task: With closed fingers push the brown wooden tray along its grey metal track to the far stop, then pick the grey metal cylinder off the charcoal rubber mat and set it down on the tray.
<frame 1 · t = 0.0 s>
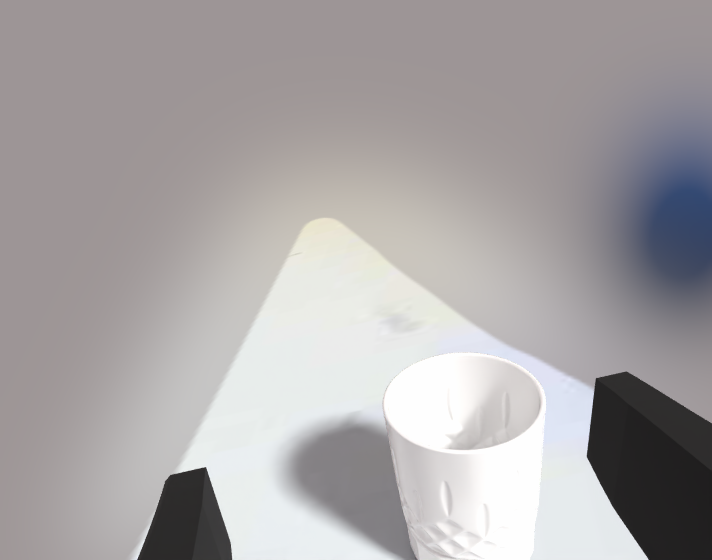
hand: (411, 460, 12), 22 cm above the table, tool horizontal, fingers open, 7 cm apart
white cup: (471, 542, 37), on the table
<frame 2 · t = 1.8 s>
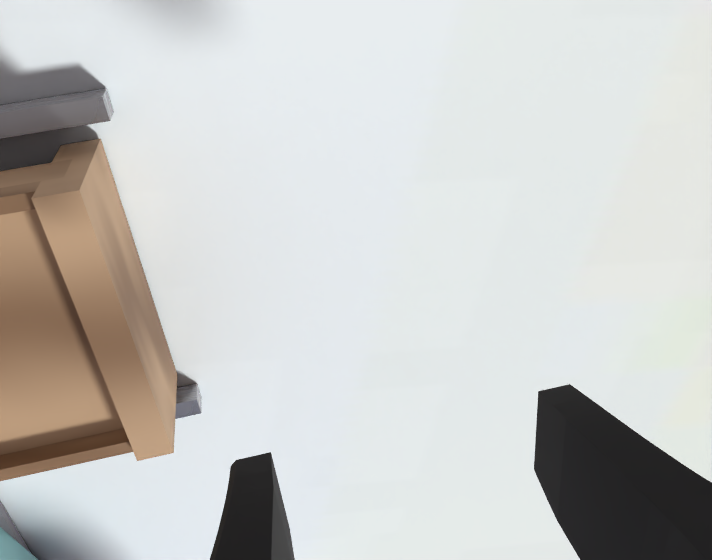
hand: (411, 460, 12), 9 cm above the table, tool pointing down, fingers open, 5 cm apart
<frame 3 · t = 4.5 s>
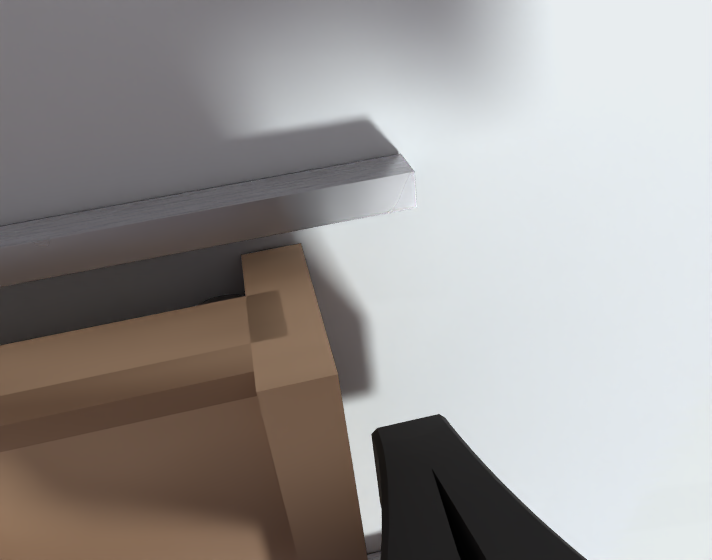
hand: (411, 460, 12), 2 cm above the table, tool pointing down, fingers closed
track: (12, 487, 12), on the table
brown wooden tray: (132, 538, 11), point 2 cm above the table, slide at 1.4 cm, touching gripper
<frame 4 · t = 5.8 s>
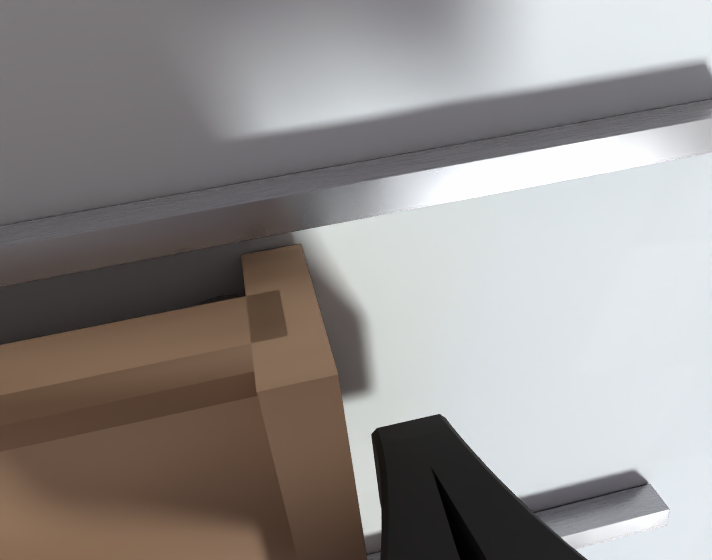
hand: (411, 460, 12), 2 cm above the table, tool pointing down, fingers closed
track: (311, 420, 13), on the table
brown wooden tray: (132, 538, 11), point 2 cm above the table, slide at 7.1 cm, touching gripper
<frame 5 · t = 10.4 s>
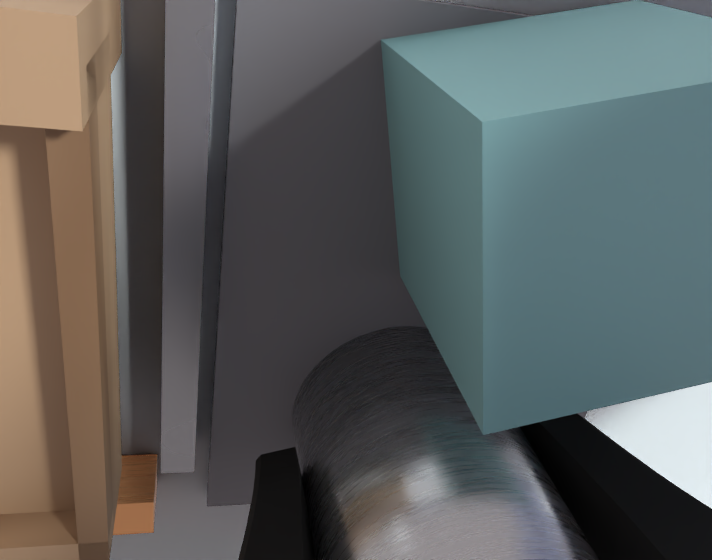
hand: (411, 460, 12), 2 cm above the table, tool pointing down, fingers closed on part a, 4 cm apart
part a: (391, 409, 13), resting on mat, touching gripper
mat: (437, 295, 12), on the table
part b: (509, 148, 11), resting on mat
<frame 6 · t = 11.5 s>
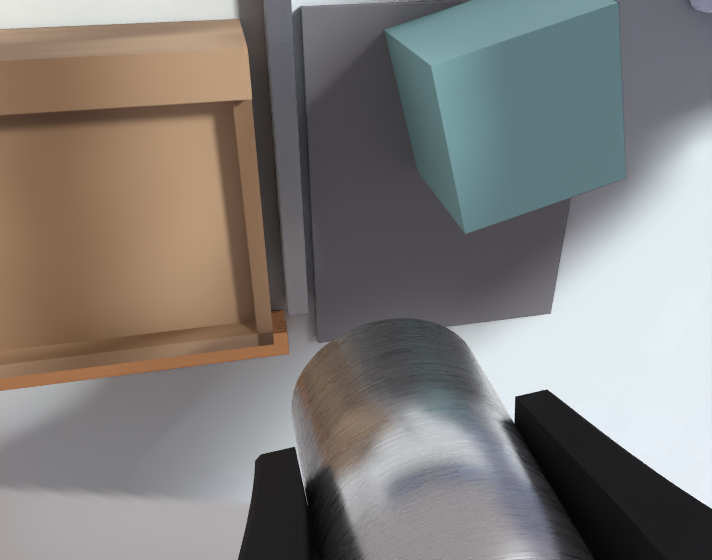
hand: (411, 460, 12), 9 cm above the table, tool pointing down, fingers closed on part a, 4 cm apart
track: (68, 38, 15), on the table
brown wooden tray: (89, 205, 16), point 2 cm above the table, slide at 7.2 cm
part a: (387, 398, 14), point 7 cm above the table, touching gripper
mat: (444, 183, 19), on the table
part b: (472, 81, 17), resting on mat
when the fingers open (5 cm above the table, at t = 13.0 s): part a stays where it is, resting on brown wooden tray.
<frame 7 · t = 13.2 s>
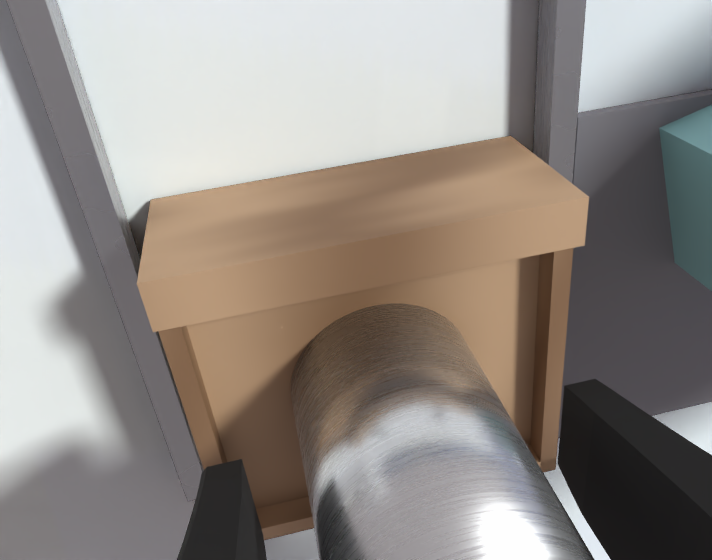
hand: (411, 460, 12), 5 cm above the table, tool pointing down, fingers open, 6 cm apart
track: (337, 176, 14), on the table
brown wooden tray: (370, 350, 15), point 2 cm above the table, slide at 7.2 cm, touching part a
part a: (382, 381, 14), point 3 cm above the table, touching brown wooden tray
mat: (695, 268, 18), on the table
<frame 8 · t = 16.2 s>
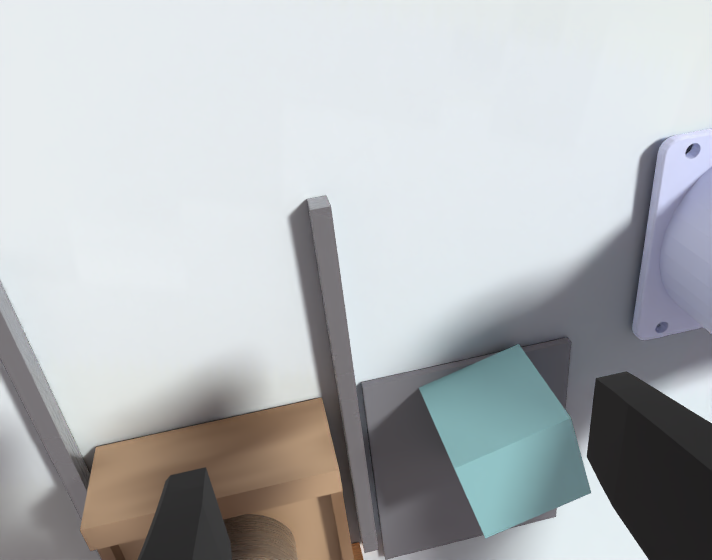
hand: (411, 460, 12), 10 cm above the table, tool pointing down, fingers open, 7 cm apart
track: (212, 425, 23), on the table
brown wooden tray: (234, 530, 24), point 2 cm above the table, slide at 7.2 cm, touching part a
part a: (239, 553, 23), point 3 cm above the table, touching brown wooden tray
mat: (468, 454, 27), on the table
part b: (482, 402, 25), resting on mat
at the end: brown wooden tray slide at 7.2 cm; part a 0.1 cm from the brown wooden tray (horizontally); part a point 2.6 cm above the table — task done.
